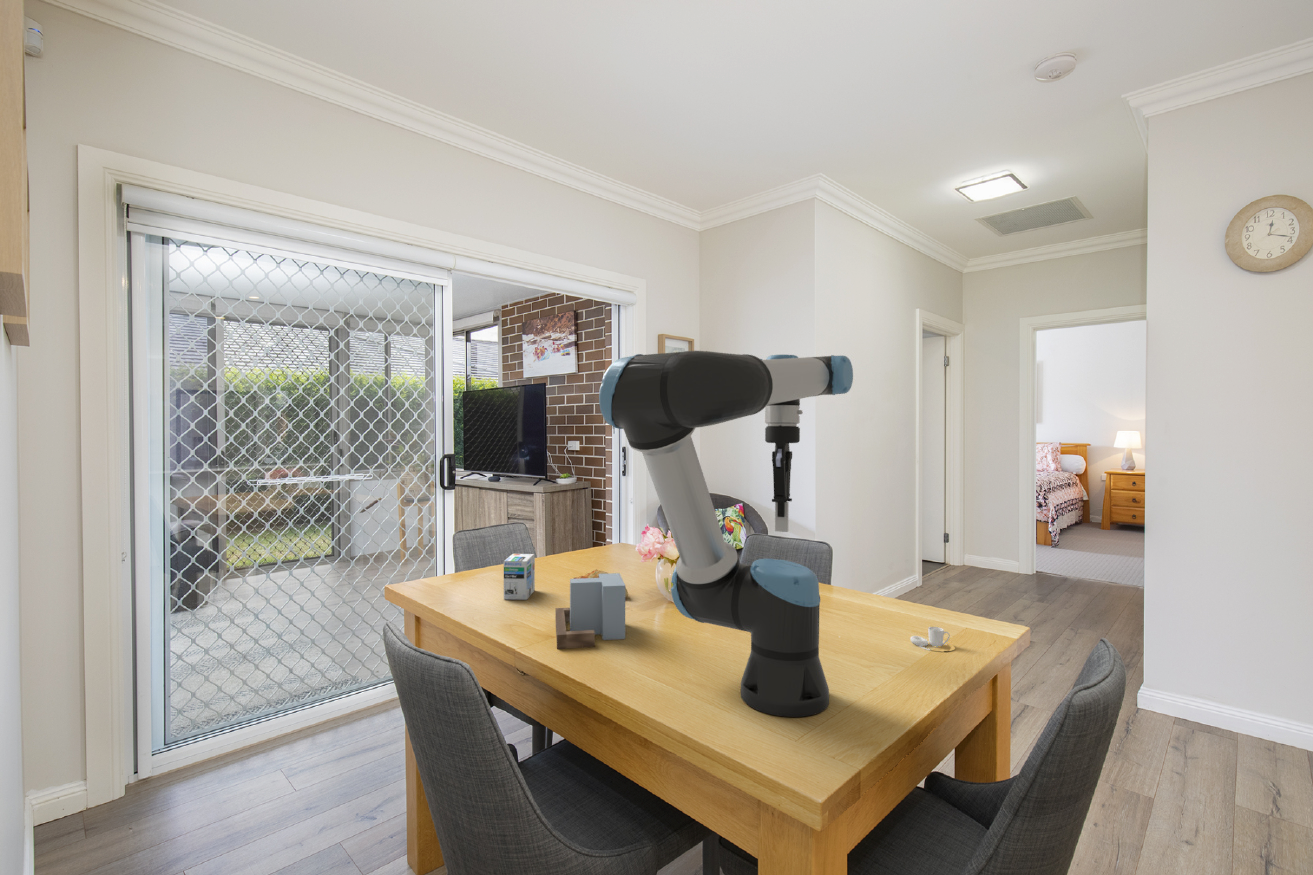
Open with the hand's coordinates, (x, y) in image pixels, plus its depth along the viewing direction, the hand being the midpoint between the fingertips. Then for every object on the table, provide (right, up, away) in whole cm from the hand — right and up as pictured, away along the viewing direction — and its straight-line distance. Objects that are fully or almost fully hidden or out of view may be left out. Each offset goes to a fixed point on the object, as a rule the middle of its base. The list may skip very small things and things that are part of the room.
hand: (781, 530), depth 138 cm
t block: (-42, -24, +6) cm, 49 cm away
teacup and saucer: (+32, -25, 0) cm, 41 cm away
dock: (-47, -24, +5) cm, 53 cm away
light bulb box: (-67, -24, +37) cm, 80 cm away
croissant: (-44, -24, +39) cm, 64 cm away
